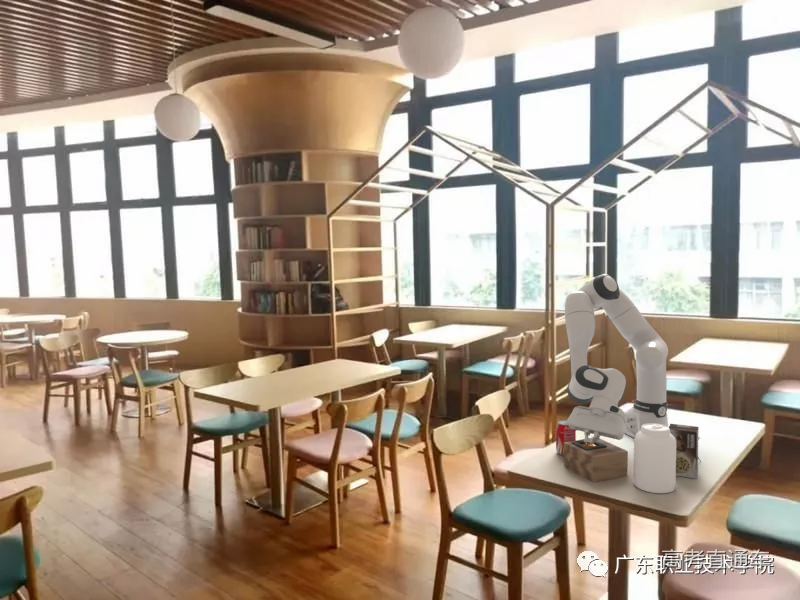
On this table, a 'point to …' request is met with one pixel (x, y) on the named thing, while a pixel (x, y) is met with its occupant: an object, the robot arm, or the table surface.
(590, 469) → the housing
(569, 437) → the soda can
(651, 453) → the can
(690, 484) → the table surface
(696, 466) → the coffee box
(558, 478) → the table surface
